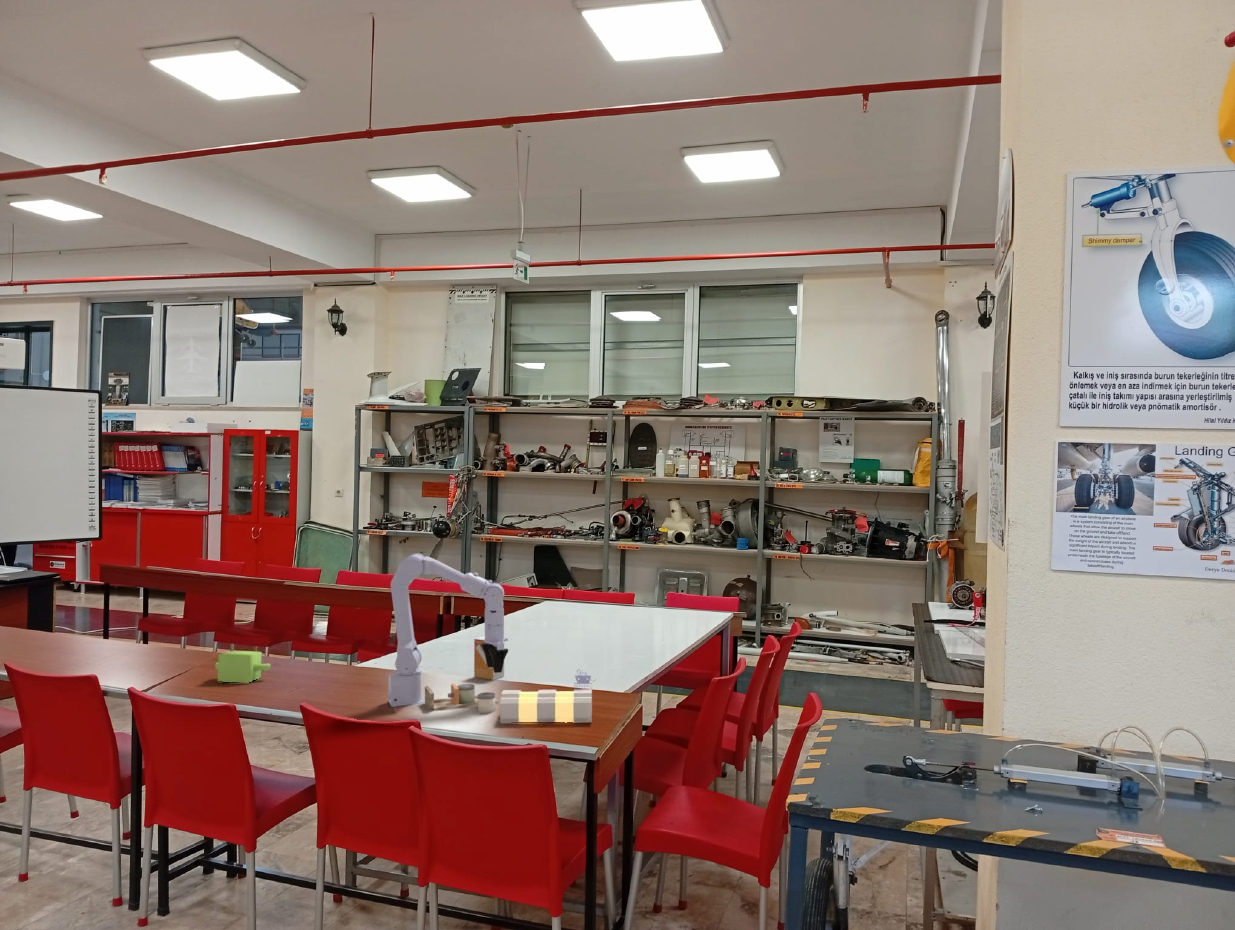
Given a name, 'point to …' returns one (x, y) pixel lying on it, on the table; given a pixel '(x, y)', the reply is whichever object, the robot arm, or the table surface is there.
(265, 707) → the table surface
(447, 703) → the lane
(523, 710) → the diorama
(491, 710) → the cream jar
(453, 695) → the pusher
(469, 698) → the green jar
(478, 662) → the small box
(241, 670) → the gearbox
